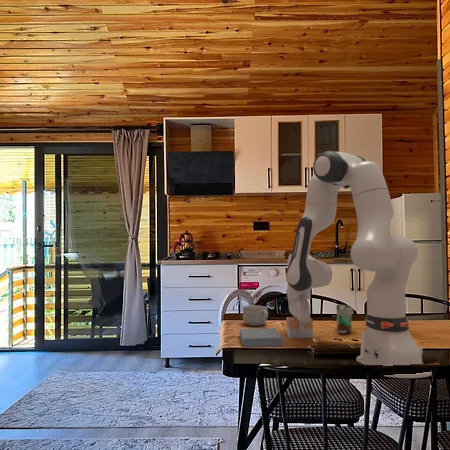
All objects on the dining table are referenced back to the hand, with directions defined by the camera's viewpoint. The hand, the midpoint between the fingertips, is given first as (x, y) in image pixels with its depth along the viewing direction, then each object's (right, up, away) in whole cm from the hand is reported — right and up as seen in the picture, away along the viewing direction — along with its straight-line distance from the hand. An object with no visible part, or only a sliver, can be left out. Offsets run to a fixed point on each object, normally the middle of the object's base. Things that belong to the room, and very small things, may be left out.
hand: (299, 329), depth 155 cm
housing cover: (0, +1, 0) cm, 1 cm away
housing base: (0, -3, 0) cm, 3 cm away
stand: (-16, -3, -7) cm, 17 cm away
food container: (+20, -3, +6) cm, 21 cm away
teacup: (-15, -3, +18) cm, 24 cm away
